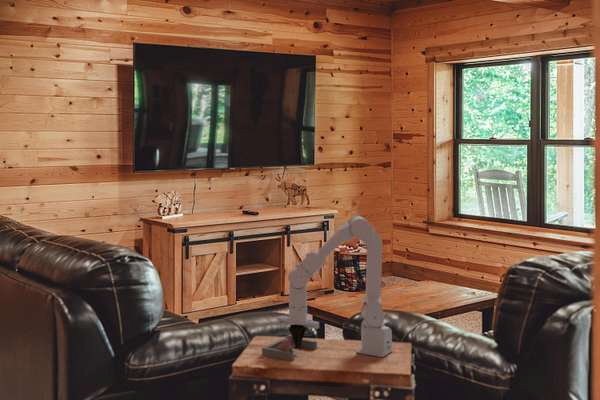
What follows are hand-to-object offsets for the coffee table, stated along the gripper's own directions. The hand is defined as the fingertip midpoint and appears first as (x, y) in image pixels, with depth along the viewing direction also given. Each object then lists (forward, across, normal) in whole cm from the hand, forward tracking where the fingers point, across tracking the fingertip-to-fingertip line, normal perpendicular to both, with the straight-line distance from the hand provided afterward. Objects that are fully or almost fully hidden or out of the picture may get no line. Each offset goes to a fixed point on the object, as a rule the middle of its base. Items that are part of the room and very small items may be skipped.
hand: (298, 347), depth 238 cm
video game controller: (+2, -4, 0) cm, 5 cm away
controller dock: (+2, -4, 0) cm, 4 cm away
